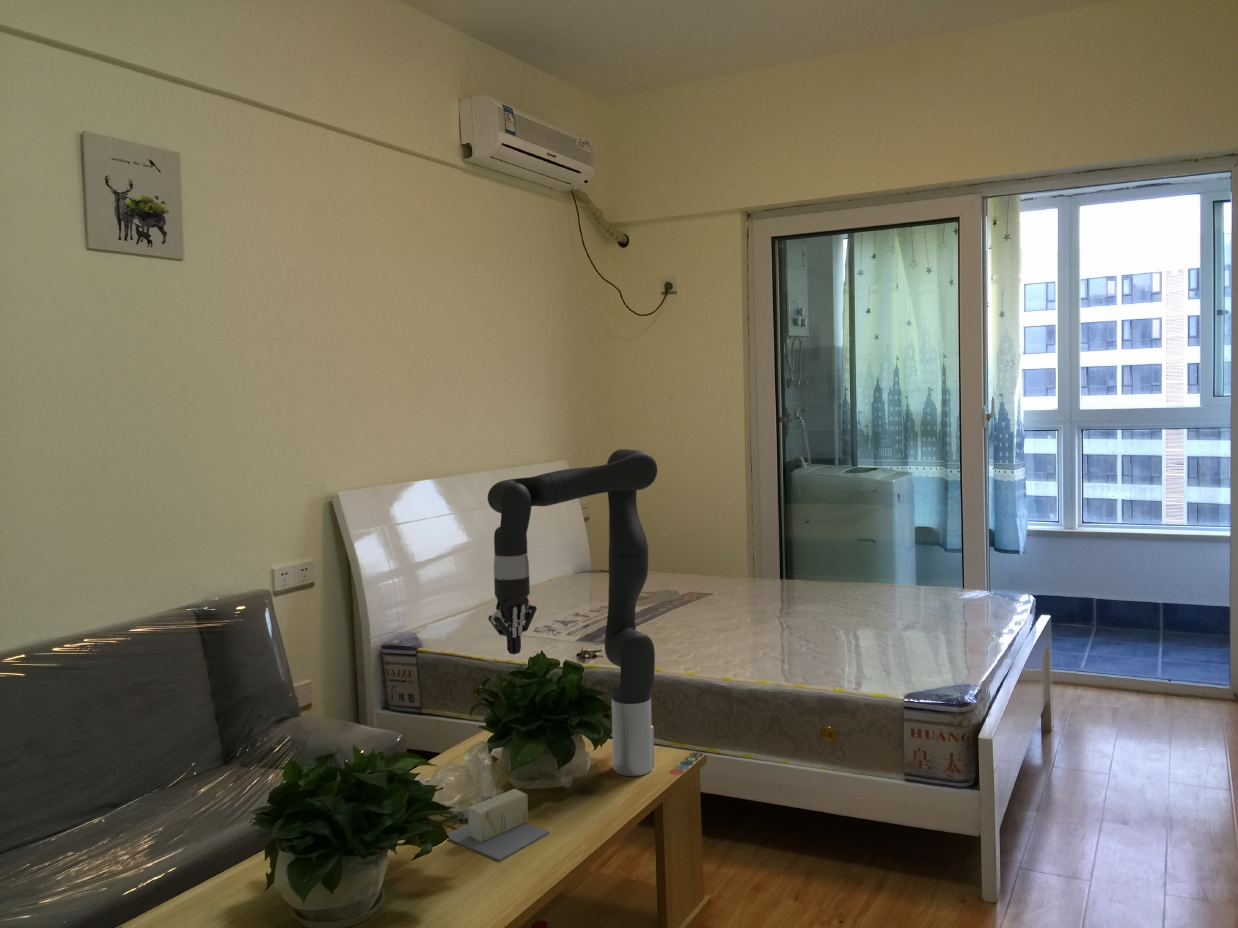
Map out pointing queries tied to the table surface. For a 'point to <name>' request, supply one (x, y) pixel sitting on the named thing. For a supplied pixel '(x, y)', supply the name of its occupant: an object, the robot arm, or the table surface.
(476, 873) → the table surface
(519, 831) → the slate mat
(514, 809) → the skincare box
